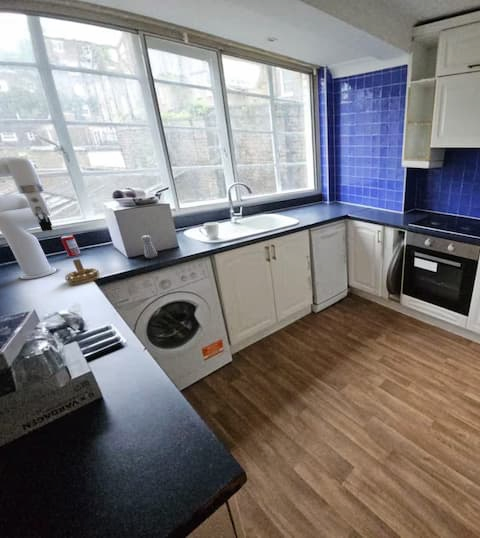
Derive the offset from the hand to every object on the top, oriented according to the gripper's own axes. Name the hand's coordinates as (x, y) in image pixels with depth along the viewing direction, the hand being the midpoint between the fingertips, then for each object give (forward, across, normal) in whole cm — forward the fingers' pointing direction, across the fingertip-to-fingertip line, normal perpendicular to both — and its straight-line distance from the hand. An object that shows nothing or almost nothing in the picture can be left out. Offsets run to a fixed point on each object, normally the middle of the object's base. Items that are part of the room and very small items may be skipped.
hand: (47, 228), depth 131 cm
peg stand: (+24, -10, -5) cm, 26 cm away
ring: (+21, -9, -5) cm, 24 cm away
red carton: (+26, +42, -4) cm, 50 cm away
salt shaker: (+24, 0, -35) cm, 42 cm away
